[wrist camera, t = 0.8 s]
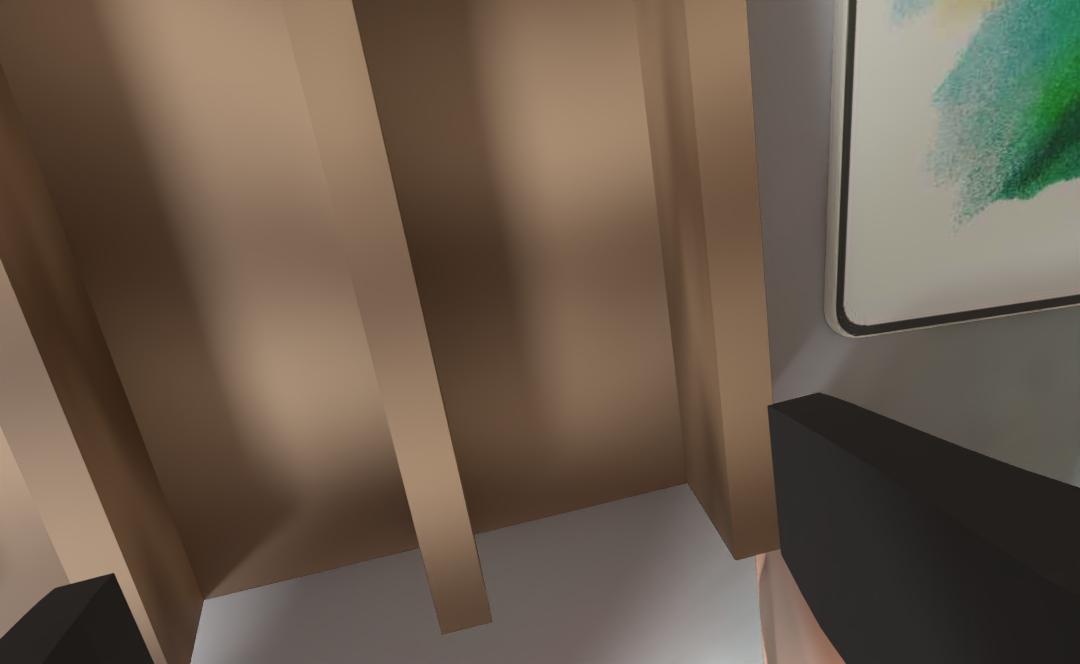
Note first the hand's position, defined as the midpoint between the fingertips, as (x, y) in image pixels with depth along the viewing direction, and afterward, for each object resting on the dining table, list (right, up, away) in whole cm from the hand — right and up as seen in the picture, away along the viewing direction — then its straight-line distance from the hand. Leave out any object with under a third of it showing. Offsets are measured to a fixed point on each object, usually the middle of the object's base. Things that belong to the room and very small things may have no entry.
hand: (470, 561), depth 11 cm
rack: (-5, +4, +9) cm, 11 cm away
